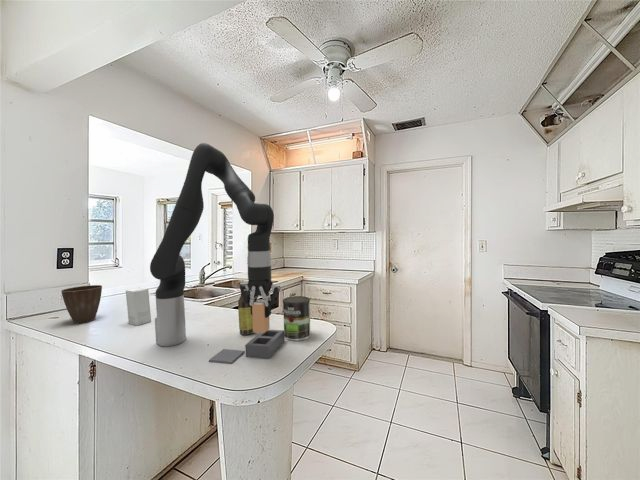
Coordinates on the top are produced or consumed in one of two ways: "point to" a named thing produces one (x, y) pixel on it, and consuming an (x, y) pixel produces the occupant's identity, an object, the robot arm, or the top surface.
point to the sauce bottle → (245, 315)
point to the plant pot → (82, 302)
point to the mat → (227, 356)
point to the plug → (259, 317)
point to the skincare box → (138, 306)
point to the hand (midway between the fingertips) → (260, 316)
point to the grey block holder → (265, 344)
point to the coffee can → (296, 318)
